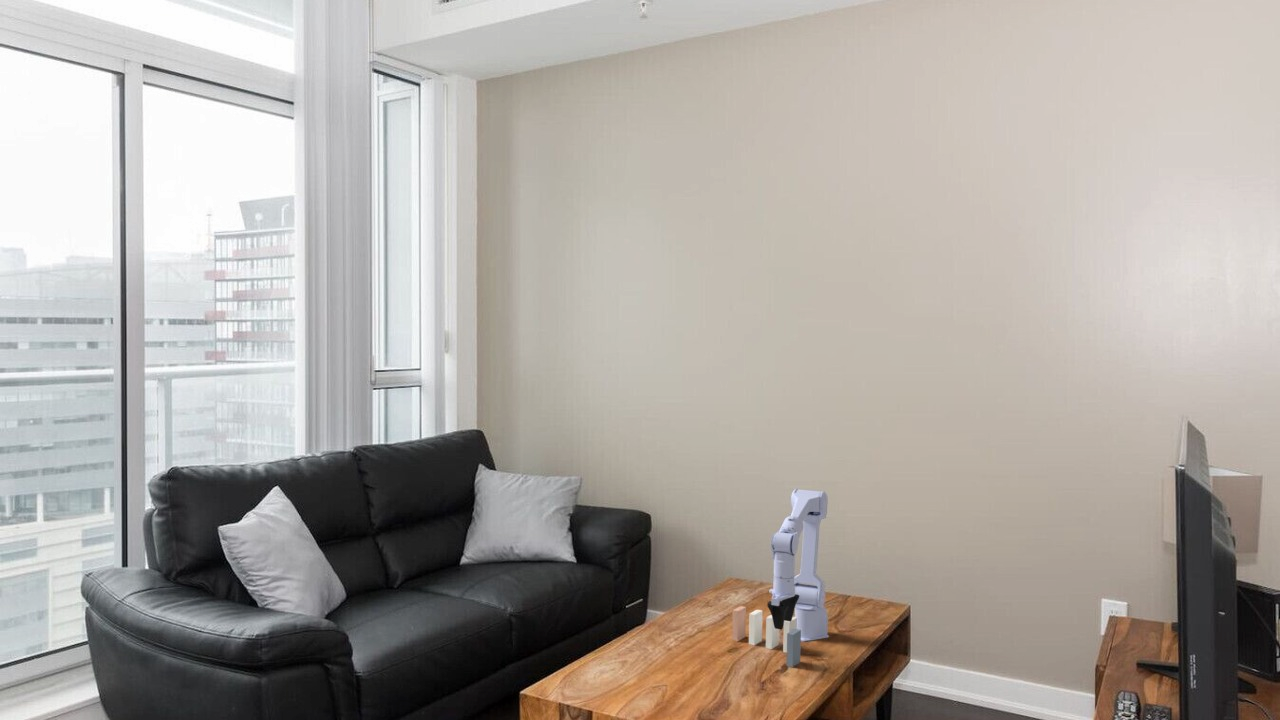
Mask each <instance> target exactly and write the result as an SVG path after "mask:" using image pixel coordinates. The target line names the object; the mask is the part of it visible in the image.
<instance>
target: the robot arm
mask: <svg viewBox="0 0 1280 720" xmlns="http://www.w3.org/2000/svg"><path fill="white" fill-rule="evenodd" d="M828 503H829V502H828V495H827V493H826V491H825V490H823V491H821V490H811V489H810V490H808V489H799V488H794V490H793V491H792V492H791V497H790V505H791V509H792V511H791V514H790V515H789V516H787V517H785V519H784V520H783V522H782V523H781V524H782V525H781V526H780V528H779V529H778V531H776V532H775V533H773V534H772V536H771V540H770V541H771V542H770V550H771V553H772V554H771V557H772V560H773V582H772V583H773V587H772V588H770V589H769V590H768V591H769V592H768V593H769V594H772V597H771V601H768V602H767V608H768V609H769V612H770V615H772V618H773V623H774V627H775V629H779V630H784V621H790V622H791V620H792V617H796V618H797V629H799V630H801V642H810V641H815V640H822V639H827V638H829V637H830V636H829V634H828V623H829V622H828V621H829V617H828V611H827V609H826V607H825V606H824V605H825V602H826V584H825V581H824V579H822V578H821V577H820V576H818V574H817V570H818V569H817V568H818V556H819V555H818V554H819V553H818V552H819V540H820V539H819V537H820V526H821V521H822V520H823V519H826V518H827V513H828ZM801 534H802V543H801V545H802V546H801V561H800V570H799V574H797V575H796V576H795V572H796V571H795V566H796V560H795V559H796V554H797V552H798V548H799V543H800V536H801Z"/></svg>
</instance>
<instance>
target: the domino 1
mask: <svg viewBox="0 0 1280 720" xmlns="http://www.w3.org/2000/svg"><path fill="white" fill-rule="evenodd" d="M731 618H732V622H731V623H732V626H731V630H732V631H731V641H733V642H737V643H738V642H739V641H741V640H743V639H744V638H746V629H747V628H746V625H747V619H746V618H747V607H746V606H743V605H740V606H738V607H736V608H734V609H732V617H731Z"/></svg>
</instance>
